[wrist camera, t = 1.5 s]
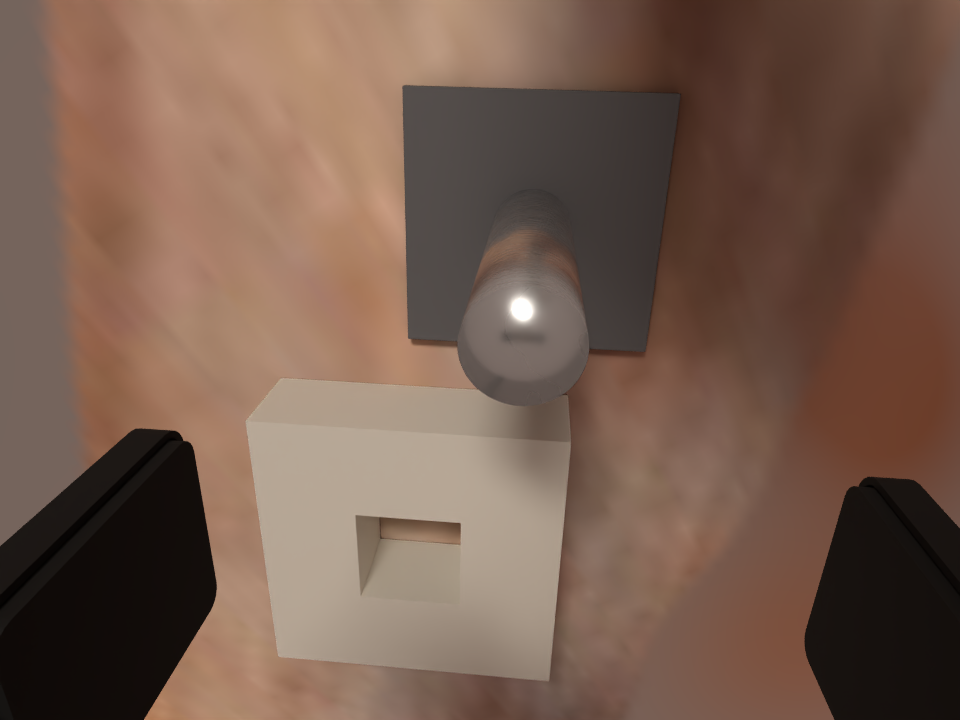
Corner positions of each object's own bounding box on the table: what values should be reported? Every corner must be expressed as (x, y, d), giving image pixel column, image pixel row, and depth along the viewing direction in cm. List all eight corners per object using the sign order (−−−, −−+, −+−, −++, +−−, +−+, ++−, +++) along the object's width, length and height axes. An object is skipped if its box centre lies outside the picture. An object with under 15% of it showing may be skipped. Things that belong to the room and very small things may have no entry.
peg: (494, 187, 26) (457, 281, 15) (573, 190, 25) (595, 288, 15) (492, 262, 27) (456, 402, 16) (567, 266, 27) (583, 410, 16)
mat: (405, 85, 25) (402, 85, 24) (677, 93, 24) (680, 93, 24) (410, 334, 29) (408, 338, 29) (643, 347, 28) (645, 351, 28)
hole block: (281, 377, 30) (245, 420, 27) (567, 395, 30) (571, 442, 26) (305, 596, 36) (278, 656, 32) (548, 616, 35) (549, 681, 31)
